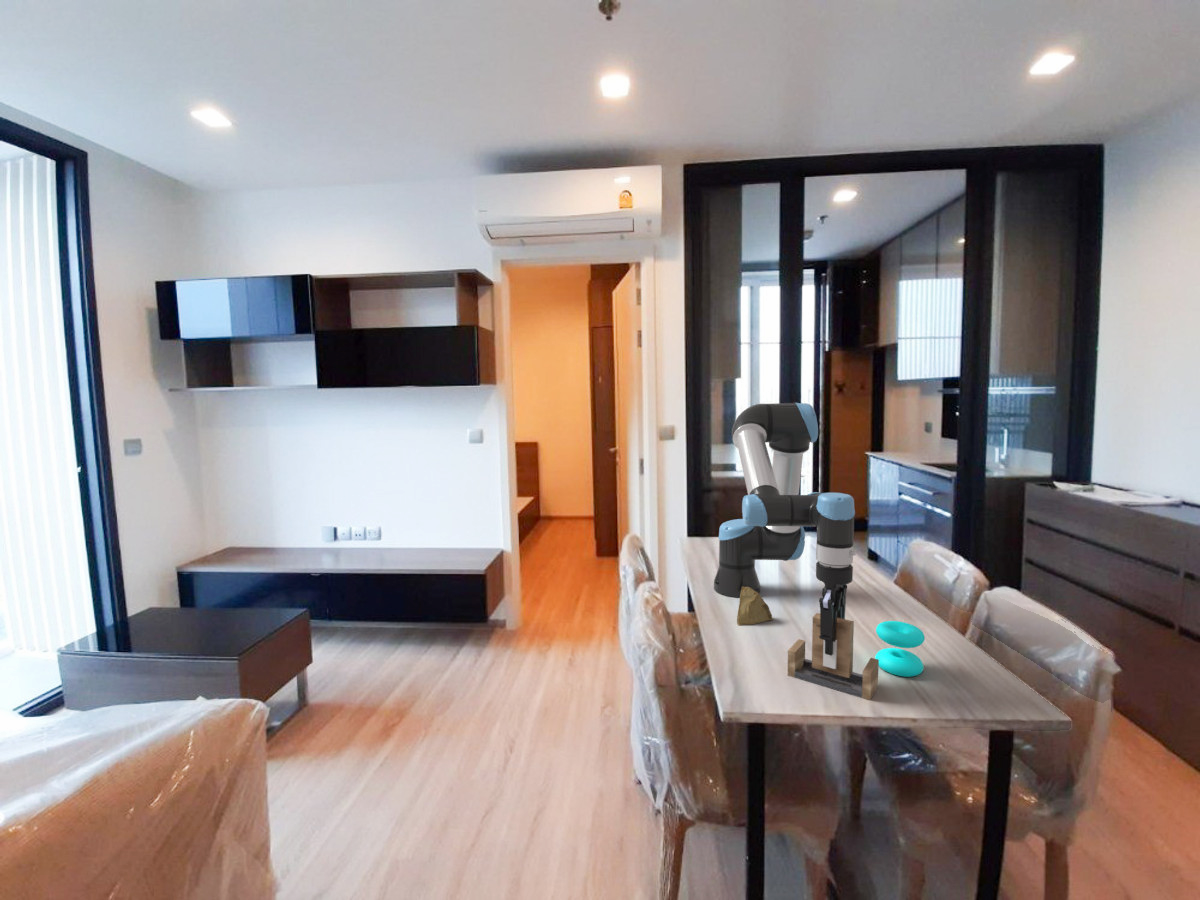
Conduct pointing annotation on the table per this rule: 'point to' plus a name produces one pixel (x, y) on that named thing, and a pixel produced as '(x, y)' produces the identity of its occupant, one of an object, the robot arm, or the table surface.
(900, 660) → the donuts
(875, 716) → the table surface
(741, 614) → the rock
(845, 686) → the track
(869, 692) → the frame posts
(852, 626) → the door panel
